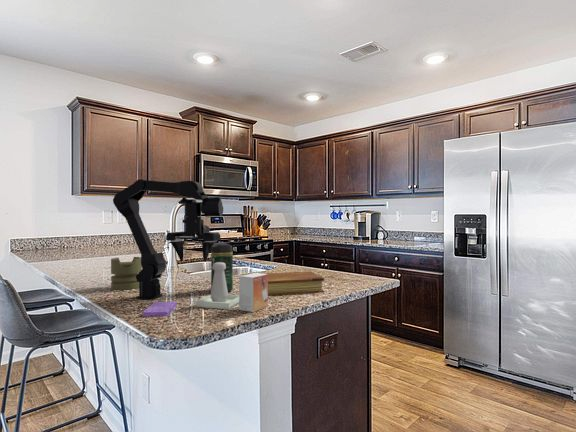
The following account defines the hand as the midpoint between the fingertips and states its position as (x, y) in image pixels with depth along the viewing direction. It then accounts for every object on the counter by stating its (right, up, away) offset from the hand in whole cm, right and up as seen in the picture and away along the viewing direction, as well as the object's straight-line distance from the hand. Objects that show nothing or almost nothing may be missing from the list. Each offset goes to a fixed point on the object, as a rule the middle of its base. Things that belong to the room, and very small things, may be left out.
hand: (193, 261), depth 128 cm
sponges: (-6, -14, -17) cm, 22 cm away
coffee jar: (+8, -13, +12) cm, 20 cm away
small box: (+23, -13, -15) cm, 30 cm away
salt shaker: (+11, -13, -9) cm, 19 cm away
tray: (+11, -13, -8) cm, 19 cm away
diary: (+34, -13, +15) cm, 39 cm away
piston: (-32, -14, +19) cm, 39 cm away
